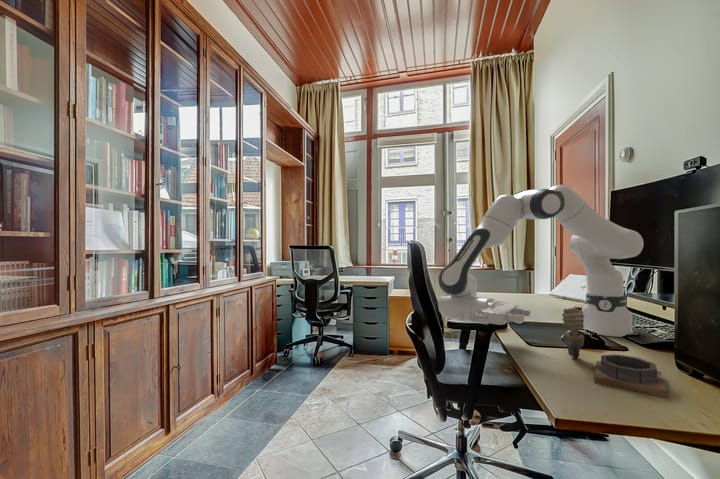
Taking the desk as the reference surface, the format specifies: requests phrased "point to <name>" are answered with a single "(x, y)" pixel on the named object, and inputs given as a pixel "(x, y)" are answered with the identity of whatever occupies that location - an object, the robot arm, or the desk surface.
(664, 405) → the desk surface
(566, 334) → the light bulb
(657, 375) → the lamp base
